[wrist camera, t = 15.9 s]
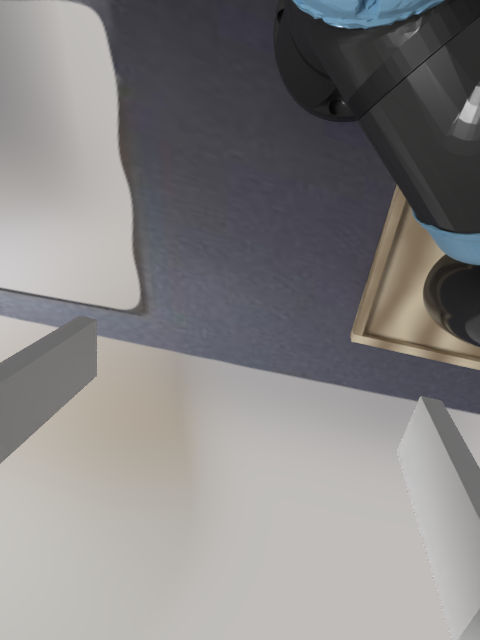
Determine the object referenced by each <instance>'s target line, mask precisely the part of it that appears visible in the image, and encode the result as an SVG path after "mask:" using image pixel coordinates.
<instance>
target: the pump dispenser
mask: <svg viewBox="0 0 480 640" xmlns="http://www.w3.org/2000/svg"><path fill="white" fill-rule="evenodd" d="M423 302H424V306H425V309H426V311H427V313H428V314H429V316H430V317H431V319H432V320H433V321H434V322H435V323H436V324H437V325H438V326H439V327H440V328H442V329H443V330H444V331H446V332H447V333H449V334H450V335H452V336H453V337H455V338H457V339H459V340H461V341H463V342H465V343H467V344H469V345H472V346H474V347H477V348H480V265H473V264H468V263H464V262H461V261H458V260H455V259H453V258H451V257H449V256H448V255H447V254H445V255H444V256H442V257H441V258H440V259H439V260H438V261H437V262H436V263H435V264H434V266H433V267H432V268H431V270H430V272H429V273H428V275H427V277H426V280H425V283H424V287H423Z"/></svg>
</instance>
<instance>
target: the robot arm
mask: <svg viewBox="0 0 480 640" xmlns="http://www.w3.org/2000/svg"><path fill="white" fill-rule="evenodd" d="M274 50H275V57H276V61H277V65H278V69H279V72H280V75H281V77H282V80H283V82H284V84H285V86H286V88H287V90H288V92H289V93H290V95H291V96H292V97H293V99H294V100H295V101H296V102H297V103H298V104H299V105H300V106H301V107H302V108H304V109H305V110H306V111H308V112H309V113H311V114H313V115H315V116H317V117H319V118H322V119H325V120H329V121H335V122H349V121H356V120H358V123H359V125H360V126H361V128H362V129H363V131H364V133H365V134H366V136H367V137H368V139H369V141H370V142H371V144H372V145H373V147H374V149H375V150H376V152H377V153H378V155H379V157H380V158H381V160H382V161H383V163H384V165H385V166H386V168H387V169H388V171H389V173H390V174H391V176H392V177H393V179H394V181H395V182H396V184H397V185H398V187H399V189H400V190H401V192H402V193H403V195H404V197H405V198H406V200H407V201H408V203H409V205H410V206H411V208H412V213H413V216H414V218H415V220H416V221H417V222H419V223H420V225H421V226H422V227H423V228H425V229H426V230H427V231H428V233H429V234H430V235H431V237H432V238H433V240H434V241H435V242H436V244H437V245H438V247H439V248H440V249H441V250H442V251H443V252H444V253H445V254H447V255H448V256H449V257H451V258H453V259H455V260H458V261H461V262H464V263H468V264H473V265H480V0H279V3H278V7H277V12H276V17H275V25H274ZM96 375H97V320H96V319H92V318H87V317H83V316H79V317H77V318H75V319H73V320H72V321H70V322H68V323H67V324H65V325H63V326H62V327H60V328H58V329H57V330H55V331H53V332H52V333H50V334H48V335H46V336H45V337H43V338H41V339H40V340H38V341H36V342H35V343H33V344H32V345H30V346H28V347H26V348H24V349H23V350H21V351H20V352H18V353H16V354H14V355H13V356H11V357H9V358H8V359H6V360H4V361H3V362H1V363H0V463H1V462H2V461H4V460H5V459H6V458H7V457H8V456H9V455H10V454H11V453H12V452H14V451H15V450H16V449H17V448H18V447H19V446H20V445H21V444H22V443H23V442H25V441H26V440H27V439H28V438H29V437H30V436H31V435H32V434H33V433H34V432H35V431H37V430H38V429H39V428H40V427H41V426H42V425H43V424H44V423H45V422H46V421H48V420H49V419H50V418H51V417H52V416H53V415H54V414H55V413H56V412H57V411H58V410H60V409H61V408H62V407H63V406H64V405H65V404H66V403H67V402H68V401H69V400H70V399H72V398H73V397H74V396H75V395H76V394H77V393H78V392H79V391H80V390H82V389H83V388H84V387H85V386H86V385H87V384H88V383H89V382H90V381H91V380H93V379H94V378H95V377H96ZM397 455H398V459H399V462H400V465H401V469H402V472H403V476H404V479H405V482H406V486H407V489H408V493H409V496H410V500H411V503H412V507H413V510H414V513H415V517H416V520H417V523H418V527H419V530H420V534H421V537H422V541H423V544H424V547H425V551H426V554H427V558H428V561H429V564H430V568H431V571H432V575H433V578H434V582H435V585H436V588H437V592H438V595H439V598H440V602H441V605H442V609H443V612H444V616H445V619H446V622H447V626H448V629H449V633H450V636H451V639H452V640H480V469H479V467H478V465H477V463H476V461H475V459H474V458H473V456H472V454H471V452H470V451H469V449H468V447H467V445H466V443H465V442H464V440H463V438H462V436H461V435H460V433H459V431H458V429H457V427H456V426H455V424H454V422H453V420H452V418H451V417H450V415H449V413H448V411H447V409H446V408H445V406H444V404H443V402H442V401H440V400H436V399H432V398H428V397H423V396H420V398H419V400H418V403H417V405H416V408H415V410H414V412H413V415H412V417H411V419H410V422H409V424H408V426H407V429H406V431H405V433H404V436H403V438H402V441H401V443H400V445H399V447H398V450H397Z"/></svg>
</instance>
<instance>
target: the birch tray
mask: <svg viewBox="0 0 480 640" xmlns="http://www.w3.org/2000/svg"><path fill="white" fill-rule="evenodd" d="M444 255H445V253H444V252H443V251H442V250H441V249H440V248H439V247H438V245H437V244H436V242H435V241H434V240H433V238H432V237H431V235H430V234H429V233H428V231H427V230H426V229H425V228H423V227H422V226H421V225H420V223H419V222H417V221H416V220H415V218H414V216H413V213H412V208H411V206H410V205H409V203H408V201H407V200H406V198H405V197H404V195H403V193H402V192H401V190H400V189H399V187H398V185H396V188H395V192H394V195H393V198H392V201H391V204H390V208H389V211H388V214H387V217H386V221H385V224H384V227H383V230H382V234H381V237H380V240H379V243H378V247H377V250H376V253H375V256H374V259H373V263H372V266H371V269H370V272H369V276H368V279H367V282H366V285H365V289H364V292H363V295H362V298H361V302H360V305H359V308H358V311H357V314H356V318H355V321H354V324H353V327H352V331H351V334H350V337H351V341H352V342H356V343H361V344H365V345H370V346H374V347H379V348H383V349H388V350H392V351H397V352H401V353H406V354H410V355H415V356H419V357H423V358H428V359H432V360H437V361H441V362H446V363H450V364H455V365H459V366H464V367H468V368H473V369H477V370H480V348H477V347H474V346H472V345H469V344H467V343H465V342H463V341H461V340H459V339H457V338H455V337H453V336H452V335H450V334H449V333H447V332H446V331H444V330H443V329H442V328H440V327H439V326H438V325H437V324H436V323H435V322H434V321H433V320H432V319H431V317H430V316H429V314H428V313H427V311H426V309H425V306H424V302H423V287H424V283H425V280H426V277H427V275H428V273H429V272H430V270H431V268H432V267H433V266H434V264H435V263H436V262H437V261H438V260H439V259H440V258H441V257H442V256H444Z"/></svg>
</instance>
